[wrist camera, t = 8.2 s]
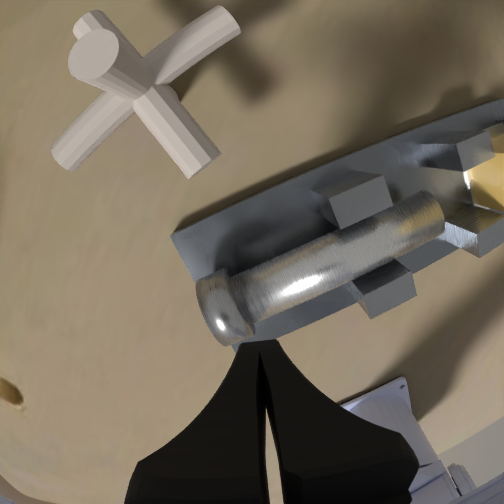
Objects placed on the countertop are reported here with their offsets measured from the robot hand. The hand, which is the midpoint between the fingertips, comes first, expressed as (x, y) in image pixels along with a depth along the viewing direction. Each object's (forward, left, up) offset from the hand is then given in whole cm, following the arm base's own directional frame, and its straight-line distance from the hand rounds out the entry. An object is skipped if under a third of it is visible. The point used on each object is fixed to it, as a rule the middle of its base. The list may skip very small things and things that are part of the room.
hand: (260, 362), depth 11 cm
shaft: (0, -4, -8) cm, 9 cm away
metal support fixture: (0, -10, -9) cm, 14 cm away
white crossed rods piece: (+12, 0, -10) cm, 15 cm away
